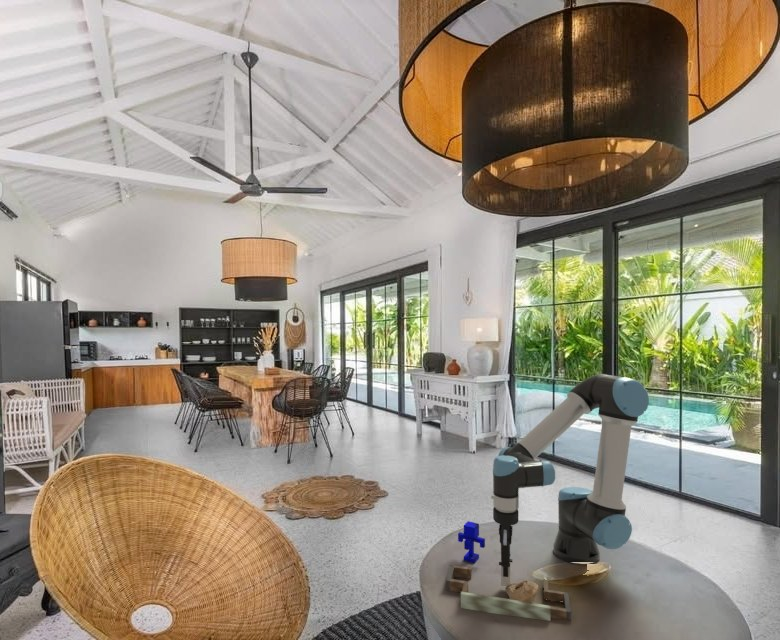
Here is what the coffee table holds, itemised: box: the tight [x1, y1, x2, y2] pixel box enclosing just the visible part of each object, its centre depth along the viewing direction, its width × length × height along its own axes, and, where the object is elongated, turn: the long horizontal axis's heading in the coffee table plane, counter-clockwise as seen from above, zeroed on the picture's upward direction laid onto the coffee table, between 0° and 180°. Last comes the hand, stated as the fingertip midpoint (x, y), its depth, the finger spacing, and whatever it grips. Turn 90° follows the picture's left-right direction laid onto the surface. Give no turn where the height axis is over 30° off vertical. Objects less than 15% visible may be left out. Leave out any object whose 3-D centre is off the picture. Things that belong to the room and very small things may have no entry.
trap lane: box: [445, 564, 572, 622], centre depth 138 cm, size 35×18×4 cm, turn 74°
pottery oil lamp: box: [505, 580, 539, 603], centre depth 135 cm, size 9×12×7 cm
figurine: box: [457, 520, 486, 564], centre depth 160 cm, size 8×8×12 cm
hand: (505, 584), depth 142 cm, fingers closed
